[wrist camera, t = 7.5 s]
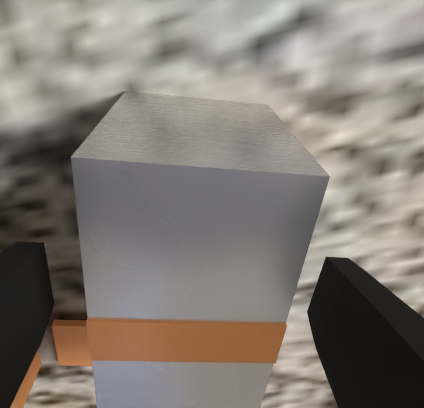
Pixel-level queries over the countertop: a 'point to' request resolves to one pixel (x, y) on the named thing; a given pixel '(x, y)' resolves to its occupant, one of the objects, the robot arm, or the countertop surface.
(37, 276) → the robot arm
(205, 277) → the orange-banded grey block
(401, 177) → the countertop surface
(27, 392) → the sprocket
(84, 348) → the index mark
